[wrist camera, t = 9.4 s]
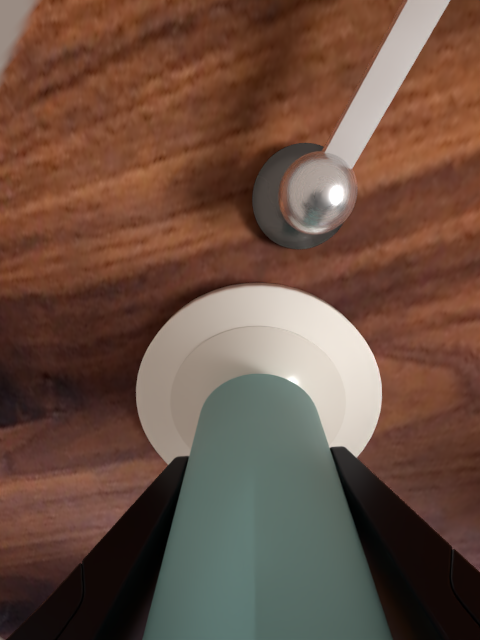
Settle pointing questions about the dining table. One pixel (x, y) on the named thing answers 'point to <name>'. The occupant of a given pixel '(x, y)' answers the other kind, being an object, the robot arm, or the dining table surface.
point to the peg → (263, 529)
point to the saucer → (257, 363)
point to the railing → (339, 142)
